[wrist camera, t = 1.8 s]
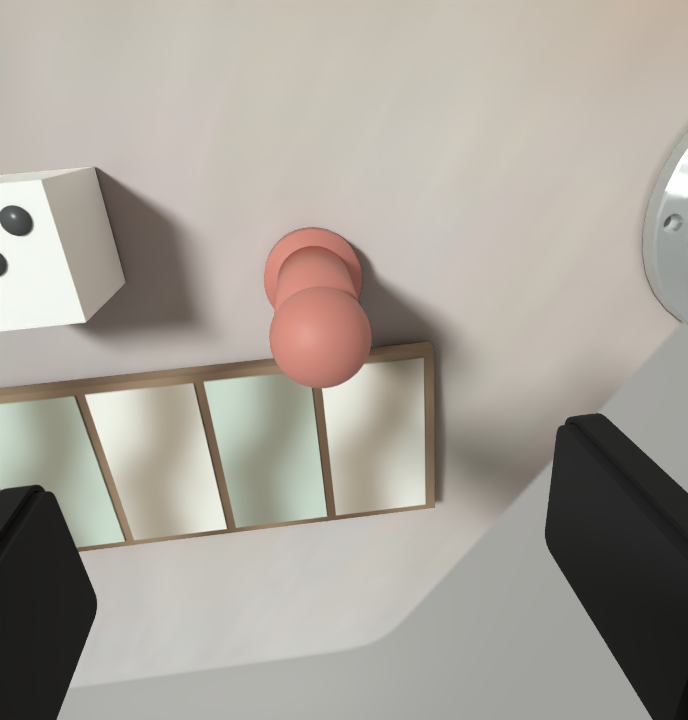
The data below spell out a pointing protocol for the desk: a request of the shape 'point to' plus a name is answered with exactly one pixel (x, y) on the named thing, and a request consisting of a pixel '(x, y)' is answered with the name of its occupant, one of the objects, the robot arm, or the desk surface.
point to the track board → (224, 447)
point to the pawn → (316, 308)
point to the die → (54, 249)
